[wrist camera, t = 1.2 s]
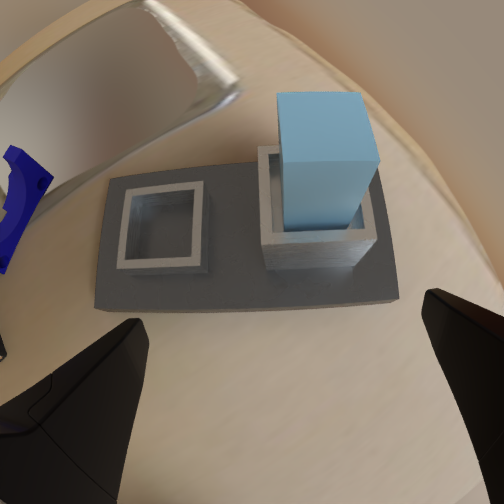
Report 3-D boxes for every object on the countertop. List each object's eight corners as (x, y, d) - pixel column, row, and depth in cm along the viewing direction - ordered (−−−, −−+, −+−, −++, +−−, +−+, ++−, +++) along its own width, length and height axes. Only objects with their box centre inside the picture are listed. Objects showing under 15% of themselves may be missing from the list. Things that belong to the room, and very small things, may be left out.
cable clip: (35, 168, 29) (5, 142, 24) (54, 177, 28) (22, 149, 23) (-11, 258, 27) (-47, 242, 21) (5, 274, 26) (-34, 259, 20)
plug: (338, 173, 18) (360, 92, 12) (347, 228, 17) (380, 160, 10) (280, 175, 18) (276, 92, 12) (283, 231, 17) (283, 162, 11)
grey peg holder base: (369, 171, 25) (393, 114, 17) (390, 302, 21) (434, 282, 14) (120, 189, 26) (77, 144, 19) (107, 311, 23) (48, 295, 16)
